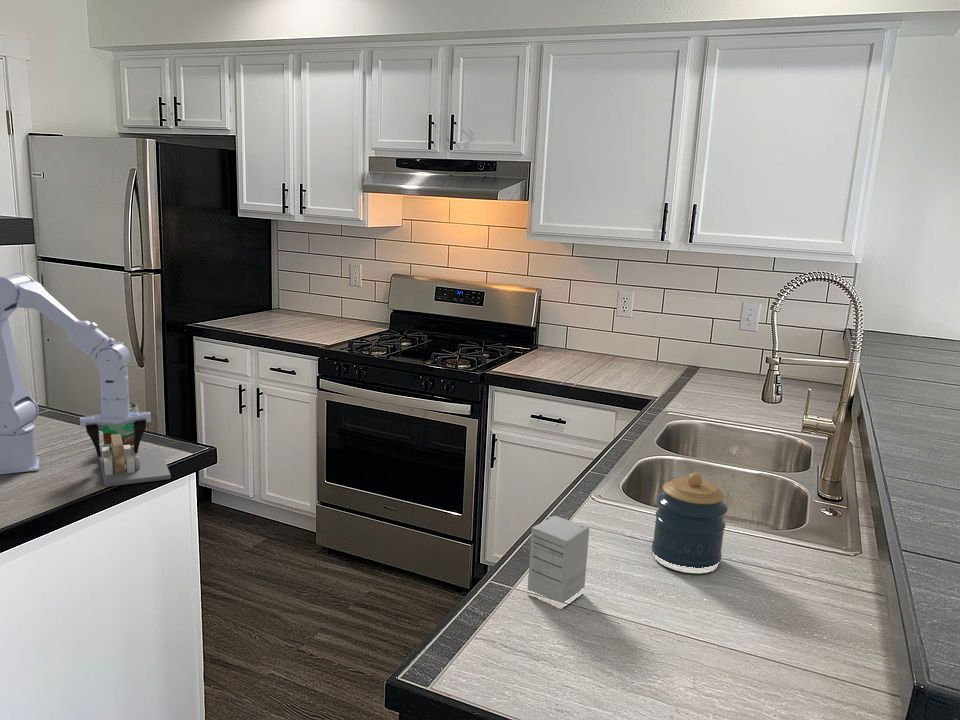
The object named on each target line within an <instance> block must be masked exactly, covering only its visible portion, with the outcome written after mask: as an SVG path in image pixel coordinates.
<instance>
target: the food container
mask: <svg viewBox="0 0 960 720" xmlns="http://www.w3.org/2000/svg"><path fill="white" fill-rule="evenodd" d="M129 411H130V412H140V410H139V406H138V405H137V402H134V401H132V400H129ZM100 414H102V411H101V412H100ZM101 427H102V428H101V429H102V437H103V446H104V447H109V449H110V451H112V447H111V435H112V434H121V438H122V442H123V445H130V446H133V445H134V429H133V423H121V424H109V425H101Z"/></svg>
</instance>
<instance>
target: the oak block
mask: <svg viewBox="0 0 960 720" xmlns="http://www.w3.org/2000/svg"><path fill="white" fill-rule="evenodd" d="M111 447H112V450H111V452H112V461H113V465H114V470H115V473H121V472H125V461H124V445H123V442H122V438H121V434H112V435H111Z"/></svg>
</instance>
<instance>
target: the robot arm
mask: <svg viewBox="0 0 960 720" xmlns="http://www.w3.org/2000/svg"><path fill="white" fill-rule="evenodd" d="M18 308H21V309H22V308H23V309H34V310H36V311H38V312H39V313H41V314H42V315H43V316H45V317H46V318H48V319H49V320H50V321H52V322H54V323H55V324H56V325H58V326H60V328H61V329H63V330H65V331H66V332H67V337H68V340H69V342H71V343H73V345H75V346H77V348H79V349H80V350H82V351H83V352H84V353H85V354H87V355H88V356H89V357H90V358H92V359H93V361H94V366H95V367H96V369H98V371H99V383H100V386H99V387H100V401H101V402H100V403H101V404H100V405H101V412H102V414H101V413H100V414H95V415H89V416H88V415H87V416H79V423H80V424H79V427H80V428H81V429H83V428H86V429H85V431H86V433H87V435H88V437H89V438H90V439H91V441H92V444H93V446H94V449H95V451H96V456H97V458H99V457H101V453H102V450H101V445H100V430H99V426H102V425H109V424H121V423H133V429H134V453H138V450H139V449H140V447H139V446H140V442H141V440H142V437H143V434H144V433H145V431H146V428H147V423H151V422H152V414H151V411H139V412H130V411H129V401H130V392H129V391H130V390H129V389H130V387H129V372H128V364H129V363H130V361H131V358H132V353H131V349H129V347H128V346H127V345H126V344H125V343H124V342H121V341H116V340H115V338H113V337H109V336H108V335H106V334H105V332H103V331H102V330H101V329H100V328H98V327H99V324H97V323H96V322H94V321H93V322H90V321H89V320H80V319H78V318H77V317H76V316H75V315H74V314H73V313H71V312H70V310H68V308H66V307H65V306H63V304H61V303H60V302H59V301H58V300H57V299H56V298H54V296H52V295H51V294H50V293H49V292H48V291H47V290H46V289H45V287H44V286H43V284H41V283H40V282H38V281H36V280H34V278H33V277H32V276H30V275H29V274H28V273H23V272H17V273H14V274H10V275H5V276H0V475H7V474H17V473H24V472H26V473H27V472H36V471H39V470H40V457H37V444H36V443H37V442H36V432H35V431H36V429H35V420H36V419H37V418H38V416H39V413H40V409H39V405H38V403H37V402H36V401H35V400H34V399H33V396H32V392H31V390H29V388H27V387H25V385H24V383H23V379H22V375H21V374H22V373H21V369H20V365H19V361H18V357H17V353H16V352H17V351H16V348H15V343H14V339H13V335H12V329H11V327H10V321H9V317H10V316H11V315H12V314H13V313H14V312H15V311H16V310H17V309H18Z"/></svg>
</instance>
